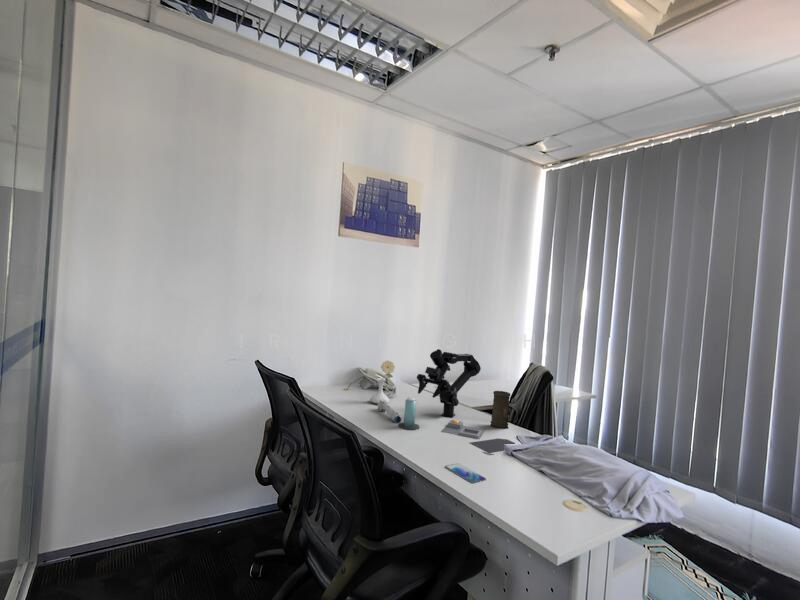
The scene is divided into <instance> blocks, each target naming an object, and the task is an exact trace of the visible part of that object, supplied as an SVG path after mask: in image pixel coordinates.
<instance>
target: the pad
mask: <svg viewBox="0 0 800 600" xmlns="http://www.w3.org/2000/svg"><path fill="white" fill-rule="evenodd" d="M398 428H400V429H402V428H403V429H402V430H405V429H407V431H416V429H417V430H419V429H420V425H419V424H417V423H415V424H414V427H406V426H404V421H403V422H400V423H398Z"/></svg>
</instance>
